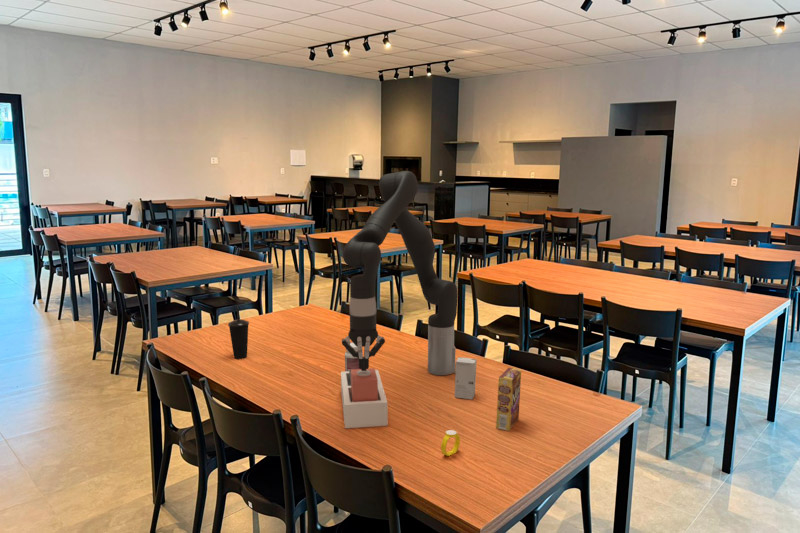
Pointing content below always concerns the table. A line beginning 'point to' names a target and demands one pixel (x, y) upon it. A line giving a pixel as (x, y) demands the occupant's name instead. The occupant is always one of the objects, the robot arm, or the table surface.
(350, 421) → the frame
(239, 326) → the drinking cup
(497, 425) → the candy box
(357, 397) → the red button block
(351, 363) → the pill bottle
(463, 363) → the skincare box
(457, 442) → the watch
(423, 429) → the table surface
